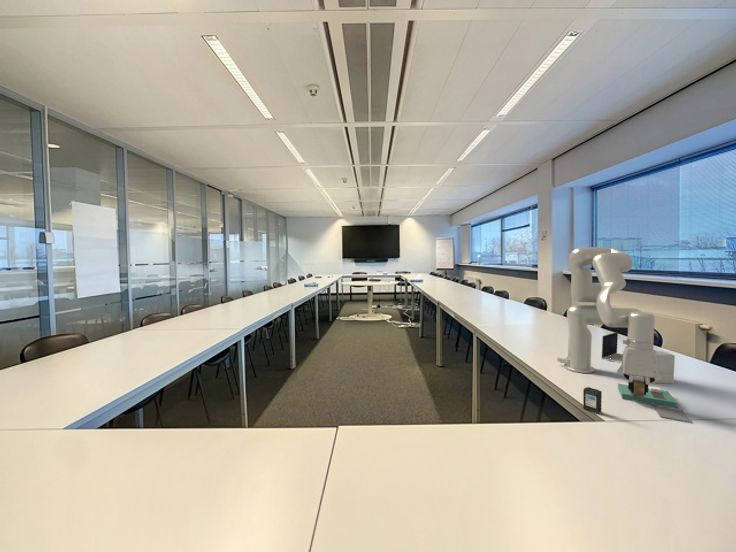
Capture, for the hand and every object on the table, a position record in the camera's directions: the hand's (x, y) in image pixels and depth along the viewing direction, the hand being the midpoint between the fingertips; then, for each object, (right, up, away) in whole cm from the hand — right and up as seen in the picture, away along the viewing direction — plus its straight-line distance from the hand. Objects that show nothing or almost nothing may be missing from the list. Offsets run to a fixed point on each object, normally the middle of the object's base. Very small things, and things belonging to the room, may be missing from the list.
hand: (637, 392), depth 125 cm
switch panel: (+7, -4, +5) cm, 9 cm away
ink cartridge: (-22, -5, -6) cm, 23 cm away
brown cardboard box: (0, -2, 0) cm, 2 cm away
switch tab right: (+11, -1, +5) cm, 13 cm away
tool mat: (+5, -5, -9) cm, 11 cm away
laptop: (+35, -1, +53) cm, 64 cm away
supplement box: (+28, -3, +23) cm, 36 cm away
